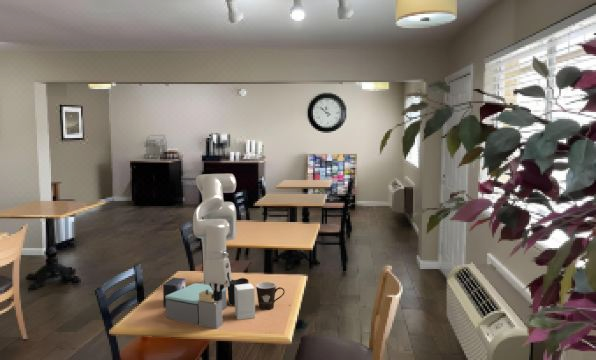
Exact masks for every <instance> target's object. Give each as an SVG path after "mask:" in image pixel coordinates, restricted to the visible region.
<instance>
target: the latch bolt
mask: <svg viewBox="0 0 596 360" xmlns="http://www.w3.org/2000/svg"><path fill="white" fill-rule="evenodd" d="M199 301H205V302H210V303H212V302H214V295H213V292H209V290H206V291H202V292H200V293H199Z"/></svg>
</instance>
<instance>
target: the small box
mask: <svg viewBox="0 0 596 360" xmlns="http://www.w3.org/2000/svg"><path fill="white" fill-rule="evenodd" d="M186 284H187V283H186V278H185V277H184V278H182V277H175V276H174V277H172V278H170V279H168V280H167V281H166V282H164V283H162V292H163V293H162V295H163V297H162V298H163V303H162V305H163V306H162V307H163V308H166V298H165V296H166V295H169V294H171V293H173V292H176V291H178V290H180V289H183V288H185V287H187V286H186Z"/></svg>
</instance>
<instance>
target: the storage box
mask: <svg viewBox="0 0 596 360" xmlns="http://www.w3.org/2000/svg"><path fill="white" fill-rule="evenodd" d="M226 309H227V290H226V291H224V292H222V299H221V300H220V301H214V302H212V303H210V302H205V301H198V304H193V303H188V302H183V301H177V300H172V299H166V307H165V310H166V311H165V312H166V314H165V315H166V319H168V320H172V321H176V322H177V321H178V322H183V323H187V324H193V325H196V326H198V325H199V326H202V327H207V328H212V329H219V328H220V327H222V326H223V311H224V310H226Z"/></svg>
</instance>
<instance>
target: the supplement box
mask: <svg viewBox="0 0 596 360" xmlns="http://www.w3.org/2000/svg"><path fill="white" fill-rule="evenodd" d="M234 290H235V306H234V315H235V317H236V318H237V320H246V319H247V320H249V319H254V318H256V304H255V302H256V299H255V297H256V295H255V286H254V285H253V284H252V283H248V284H240V285H235V286H234Z"/></svg>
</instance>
